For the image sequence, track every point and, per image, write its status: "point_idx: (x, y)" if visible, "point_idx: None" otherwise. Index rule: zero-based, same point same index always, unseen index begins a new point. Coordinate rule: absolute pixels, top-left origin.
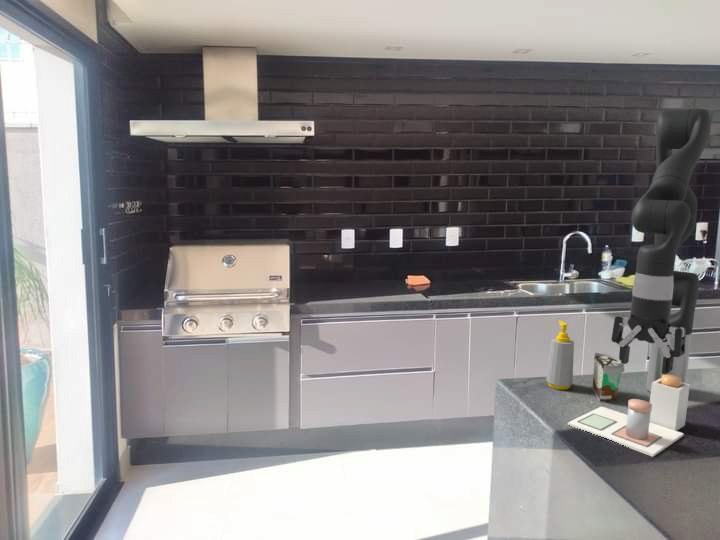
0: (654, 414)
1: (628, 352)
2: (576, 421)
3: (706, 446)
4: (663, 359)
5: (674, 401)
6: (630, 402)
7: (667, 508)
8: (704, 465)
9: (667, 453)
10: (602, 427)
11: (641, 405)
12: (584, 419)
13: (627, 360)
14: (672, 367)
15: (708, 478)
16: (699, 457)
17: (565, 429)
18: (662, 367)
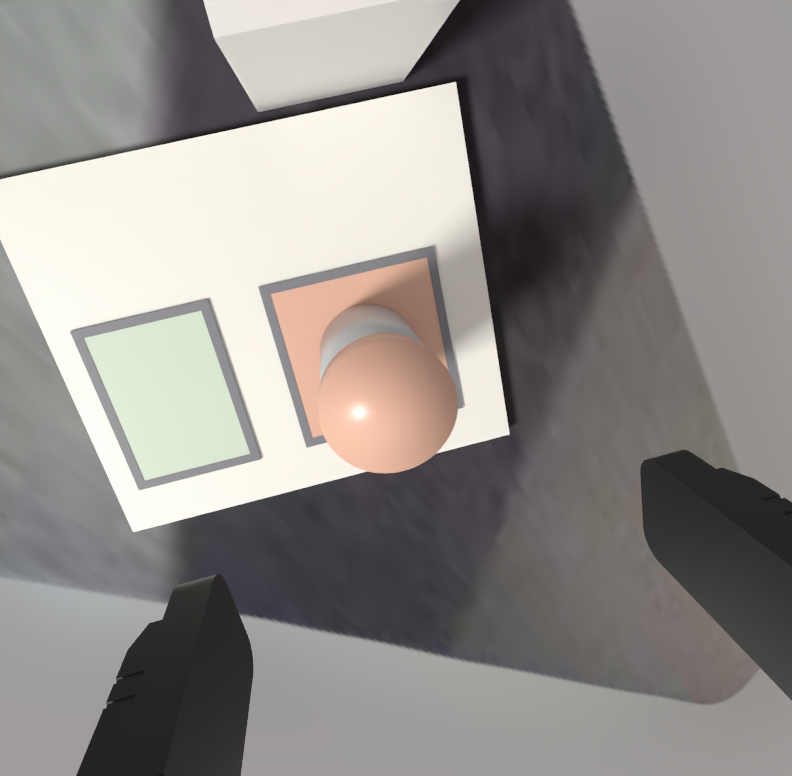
0: (287, 92)
1: (201, 705)
2: (134, 487)
3: (573, 98)
4: (780, 680)
5: (415, 32)
6: (356, 460)
7: (686, 637)
8: (646, 304)
9: (517, 348)
10: (239, 430)
11: (419, 436)
12: (128, 437)
13: (222, 610)
14: (771, 493)
15: (692, 387)
16: (605, 252)
17: (173, 560)
18: (696, 595)
